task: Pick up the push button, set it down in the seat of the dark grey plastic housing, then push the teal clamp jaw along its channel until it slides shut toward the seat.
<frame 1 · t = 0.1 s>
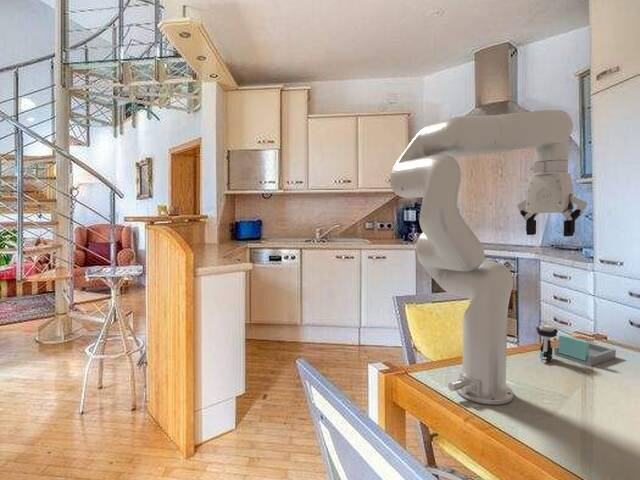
hand: (549, 235, 99), 37 cm above the table, tool pointing down, fingers open, 9 cm apart
push button: (545, 361, 110), on the table
clamp jaw: (573, 347, 110), point 4 cm above the table, slide at 0.0 cm
housing: (584, 356, 113), on the table
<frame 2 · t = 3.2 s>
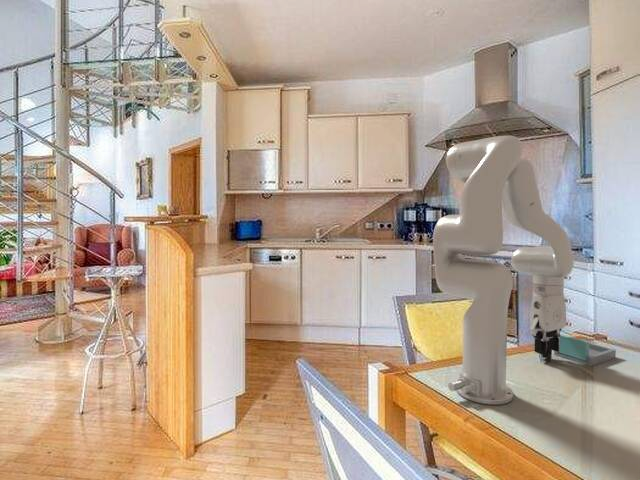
hand: (546, 351, 110), 3 cm above the table, tool pointing down, fingers closed on push button, 4 cm apart
push button: (544, 361, 110), on the table, touching gripper
everything else where it was.
when the fingers open (4 cm above the table, at t = 9.0 s): push button stays where it is, resting on housing.
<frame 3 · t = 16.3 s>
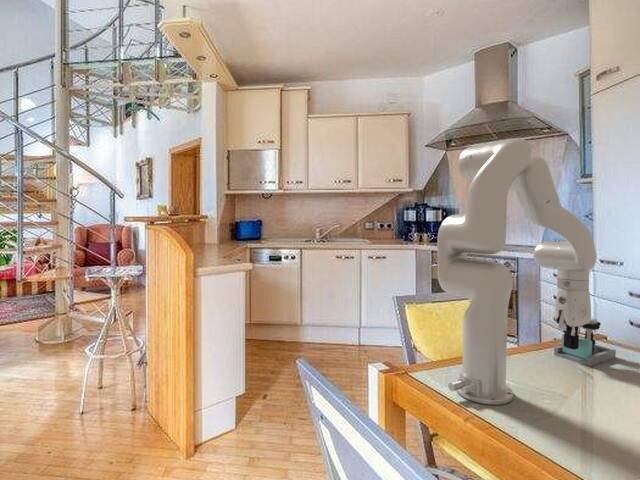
hand: (570, 347, 109), 4 cm above the table, tool pointing down, fingers closed
push button: (588, 352, 114), point 1 cm above the table, touching housing
clamp jaw: (576, 346, 111), point 4 cm above the table, slide at 1.6 cm, touching gripper
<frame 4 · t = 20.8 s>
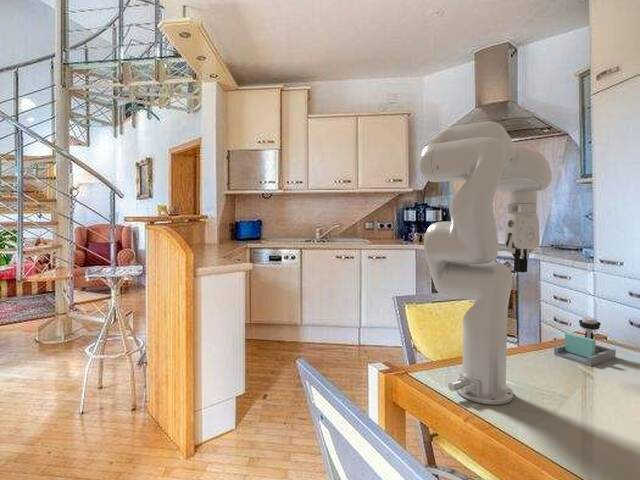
hand: (520, 271, 113), 25 cm above the table, tool pointing down, fingers closed
clamp jaw: (579, 345, 111), point 4 cm above the table, slide at 3.0 cm
everything else where it was.
at the end: push button 1.0 cm from the target spot on the housing, point 0.6 cm above the housing's base; push button tilted 0°; clamp jaw slide at 3.0 cm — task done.
